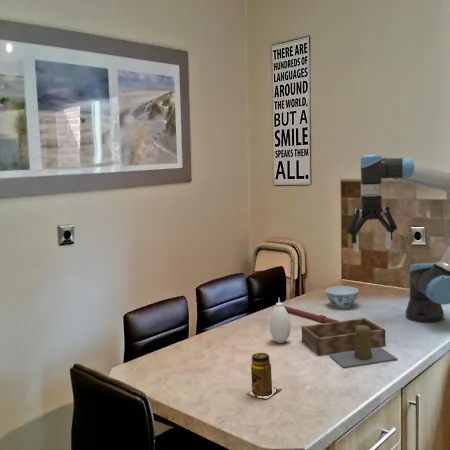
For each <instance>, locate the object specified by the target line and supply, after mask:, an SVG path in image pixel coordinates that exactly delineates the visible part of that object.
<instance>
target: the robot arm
mask: <svg viewBox="0 0 450 450" xmlns="http://www.w3.org/2000/svg"><path fill="white" fill-rule="evenodd" d="M385 179H393V180H396V181H400V182H405V183H410V184H414V185H418V186H422V187H426V188H431V189H435V190H439V191H444V192H448V193H450V172H447V171H444V170H439V169H435V168H431V167H426V166H422V165H417V164H415V163H414V161H413V159H412V158H410V157H396V158H394V157H393V158H392V157H390V158H389V157H382V155H381V154H380V153H378V154H376V153H373V154H363V155H362V156H361V158H360V181H361V183H360V184H361V185H360V187H361V188H360V192H361V193H360V194H361V195H362V196H361V197H360V198H361V200H360V201H361V204H360V205H361V208H359V209H358V208H354V209H353V215H352V218H351V219H350V222H349V223H348V226H347V229H346V233H347V234H350V236H351V243H352V244H353V252H355V253H359V252H360V249H359V245H360V244H359V239H360V238H359V234H358V233H359V231H360V230H361V229H362V227H363V225H364V224H365V223H366V222H367V221H371V220H377V221H378V222H380V224H381V225H382V226H383V227H384V228H385V230H386V231H385V234H384V235H385V236H384V237H385V238H384V239H385V240H384V243H385V245H384V246H385V249H388V250H390V249H391V248H392V244H391V243H392V240H393V232H395V231H397V230H398V227H397V225H396V222H395V221H394V220H395V219H394V218H393V216H392V213H391V211H390V206H385V205H383V206H382V204H383V203H382V202H383V200H382V199H383V197H382V195H381V194H382V180H385ZM382 213H383V214H384V216H385V218H386V219H385V218H384V216H383V215H382ZM361 214H362V215H361ZM360 215H361V216H360ZM359 217H360V218H359ZM408 274H409V300H408V302H407V306H406V309H405V318H406V319H407V320H410V321H413V322H418V323H437V322H441V321H443V320H444V318H445V312H444V309H443V306H442V305H448V304H449V305H450V244H449V245H448V247H447V249H446V250H445V252H444V254H443V256H442V258H441V259H440V260H439V261H436V262H417V263H413V264H411V265H410V266H409V271H408Z"/></svg>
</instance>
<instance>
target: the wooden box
mask: <svg viewBox="0 0 450 450" xmlns="http://www.w3.org/2000/svg"><path fill="white" fill-rule="evenodd" d="M338 321H339V322H331V323H317V324H309V325H303V326H301V341H302V343H303V344H304V345H305V346H306V347H308V348H309V349H310V350H311V351H312V352H314V353H315V354H316V355H317V356H326V355H334V354H340V353H347V352H354V351H355V345H356V336H357V335H356V334H355V328H356V326H358V325H366V326H368V327H369V328H370V335H369V340H370V346H371V349H375V348H383V347H386V346H387V345H386V339H387V337H386V329H384V328H382V327H381V326H379V325H378V324H376V323H374V322H372V321H370V320H368V319H367V318H365V317H362V318H356V319H348V320H347V319H346V320H338Z"/></svg>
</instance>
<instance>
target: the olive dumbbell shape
mask: <svg viewBox="0 0 450 450" xmlns="http://www.w3.org/2000/svg"><path fill="white" fill-rule="evenodd" d="M355 334H356V335H357V336H356V345H355V350H354V351H355V353H354V357H355V358H356V359H359V360H369V359H371V358H372V353H371V349H372V348H371V346H370V340H369V335H370V328H369V327H368V326H366V325H358V326H356V328H355Z"/></svg>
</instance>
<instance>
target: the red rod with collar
mask: <svg viewBox="0 0 450 450" xmlns="http://www.w3.org/2000/svg"><path fill="white" fill-rule="evenodd" d="M283 306H284V307H285V309H286V311H287V313H288V314H294V315H297V316H300V317H303V318H306V319H307V318H308V319H311V320H314V321H317V322H319V323H320V324H324V323H331V322H339V321H340V320H337V319H333V318H329V317H327V316H326V315H322V314H319V315H318V314H315V313H312V312H307V311H305V310H300V309H297V308H293V307H290V306H286V305H283Z"/></svg>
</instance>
